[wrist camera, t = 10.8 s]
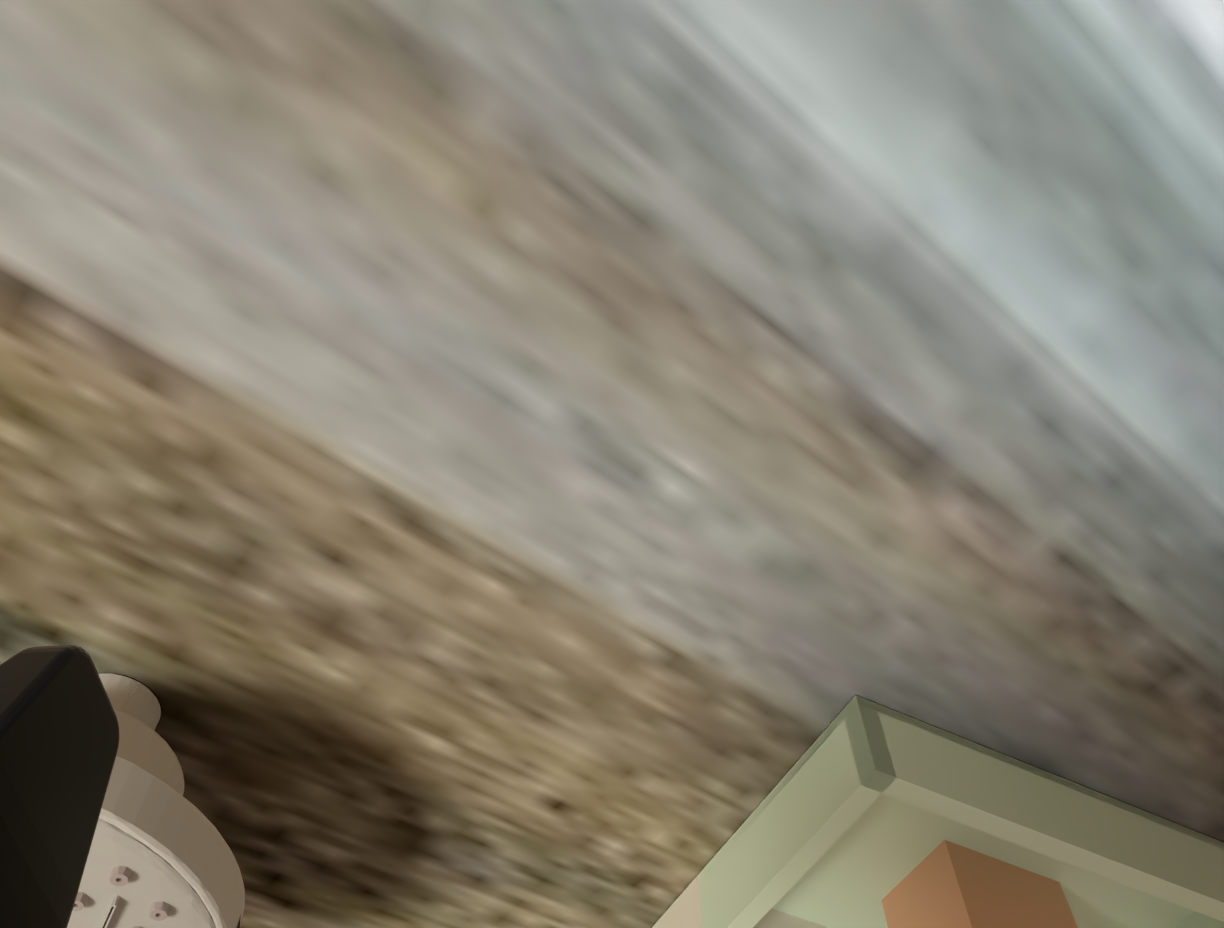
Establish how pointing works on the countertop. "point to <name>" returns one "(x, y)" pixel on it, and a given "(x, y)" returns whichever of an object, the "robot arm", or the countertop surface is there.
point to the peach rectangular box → (975, 894)
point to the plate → (684, 914)
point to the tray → (948, 834)
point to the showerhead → (153, 837)
